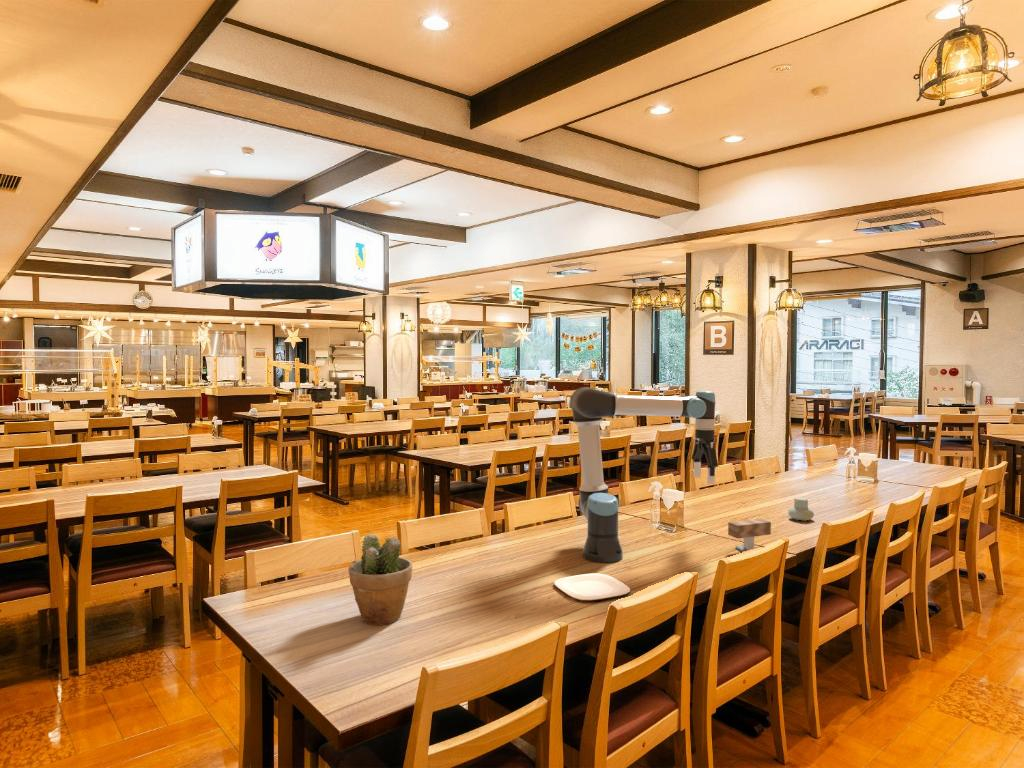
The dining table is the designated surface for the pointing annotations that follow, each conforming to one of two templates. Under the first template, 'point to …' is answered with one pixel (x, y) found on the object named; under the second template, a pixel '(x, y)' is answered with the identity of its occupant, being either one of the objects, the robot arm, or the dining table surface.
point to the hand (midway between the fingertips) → (703, 480)
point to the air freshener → (801, 510)
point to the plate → (591, 587)
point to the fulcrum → (746, 544)
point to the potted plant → (380, 581)
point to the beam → (749, 528)
